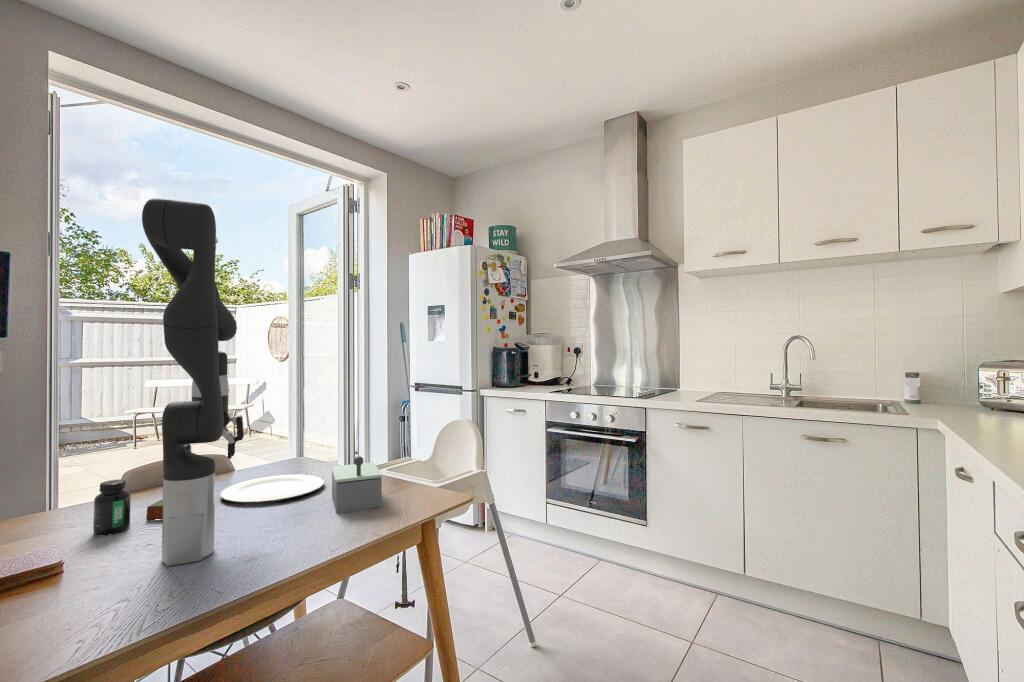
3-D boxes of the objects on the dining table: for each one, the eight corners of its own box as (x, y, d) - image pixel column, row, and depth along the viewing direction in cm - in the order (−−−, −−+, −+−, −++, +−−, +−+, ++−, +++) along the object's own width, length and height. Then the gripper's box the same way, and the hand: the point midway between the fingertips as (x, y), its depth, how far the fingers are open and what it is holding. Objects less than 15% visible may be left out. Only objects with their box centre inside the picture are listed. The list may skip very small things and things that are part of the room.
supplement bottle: (125, 533, 112) (127, 483, 112) (89, 538, 109) (90, 487, 109) (133, 523, 118) (134, 476, 118) (98, 528, 115) (99, 480, 115)
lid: (382, 477, 130) (382, 455, 131) (335, 482, 125) (336, 460, 125) (373, 464, 145) (373, 445, 145) (331, 469, 140) (331, 449, 140)
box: (381, 507, 130) (381, 478, 130) (336, 513, 125) (336, 483, 125) (372, 491, 145) (372, 466, 145) (331, 497, 140) (332, 470, 140)
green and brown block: (211, 501, 137) (212, 487, 137) (180, 521, 121) (180, 504, 121) (181, 502, 136) (182, 488, 136) (145, 522, 120) (145, 505, 120)
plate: (342, 488, 149) (343, 482, 149) (250, 514, 125) (250, 507, 125) (292, 475, 166) (293, 470, 166) (202, 496, 141) (202, 490, 142)
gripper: (171, 396, 106) (170, 466, 106) (242, 394, 112) (241, 460, 112) (178, 393, 113) (177, 459, 113) (245, 391, 119) (244, 453, 119)
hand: (209, 459), depth 112 cm, fingers open, 8 cm apart
